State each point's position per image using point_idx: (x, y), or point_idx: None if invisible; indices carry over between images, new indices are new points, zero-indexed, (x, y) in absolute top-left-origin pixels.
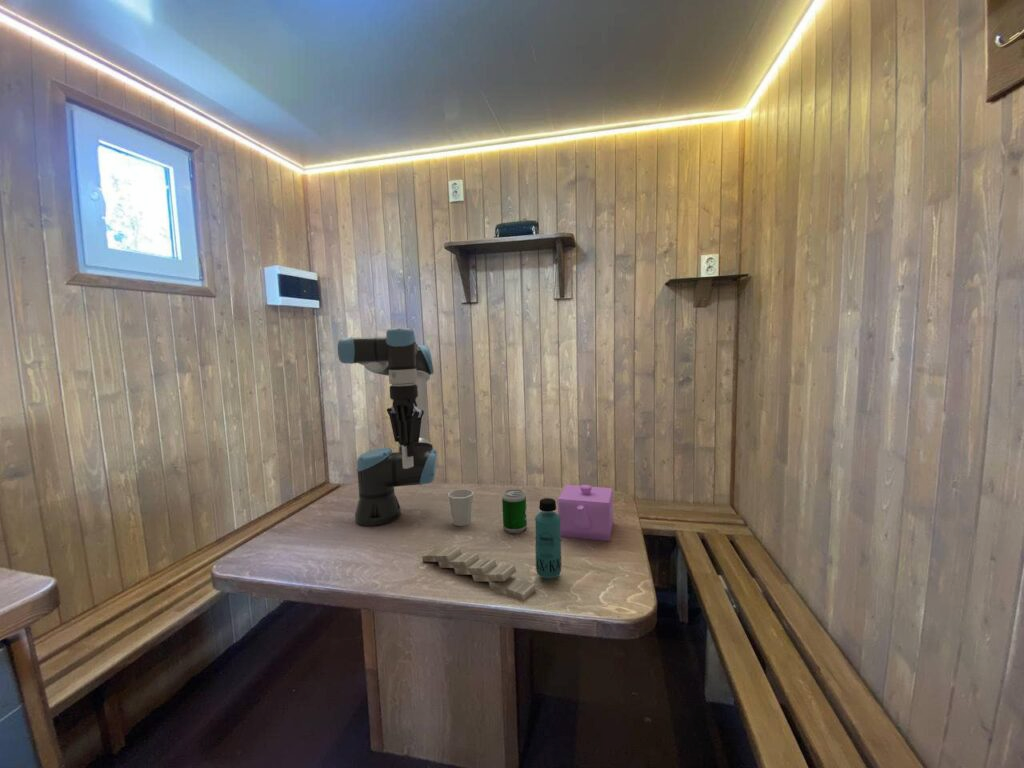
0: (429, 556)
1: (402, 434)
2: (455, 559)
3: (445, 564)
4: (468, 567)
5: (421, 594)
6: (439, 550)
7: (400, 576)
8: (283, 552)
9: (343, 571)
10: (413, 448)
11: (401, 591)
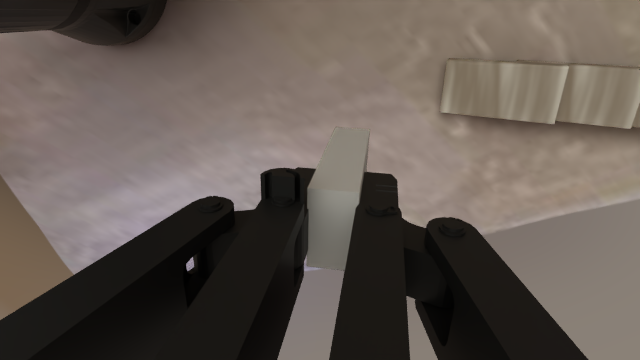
0: (472, 115)
1: (283, 321)
2: (572, 107)
3: None
4: (633, 123)
5: (531, 212)
6: (483, 80)
7: (436, 183)
8: (126, 224)
9: None
10: (397, 202)
11: (480, 222)
